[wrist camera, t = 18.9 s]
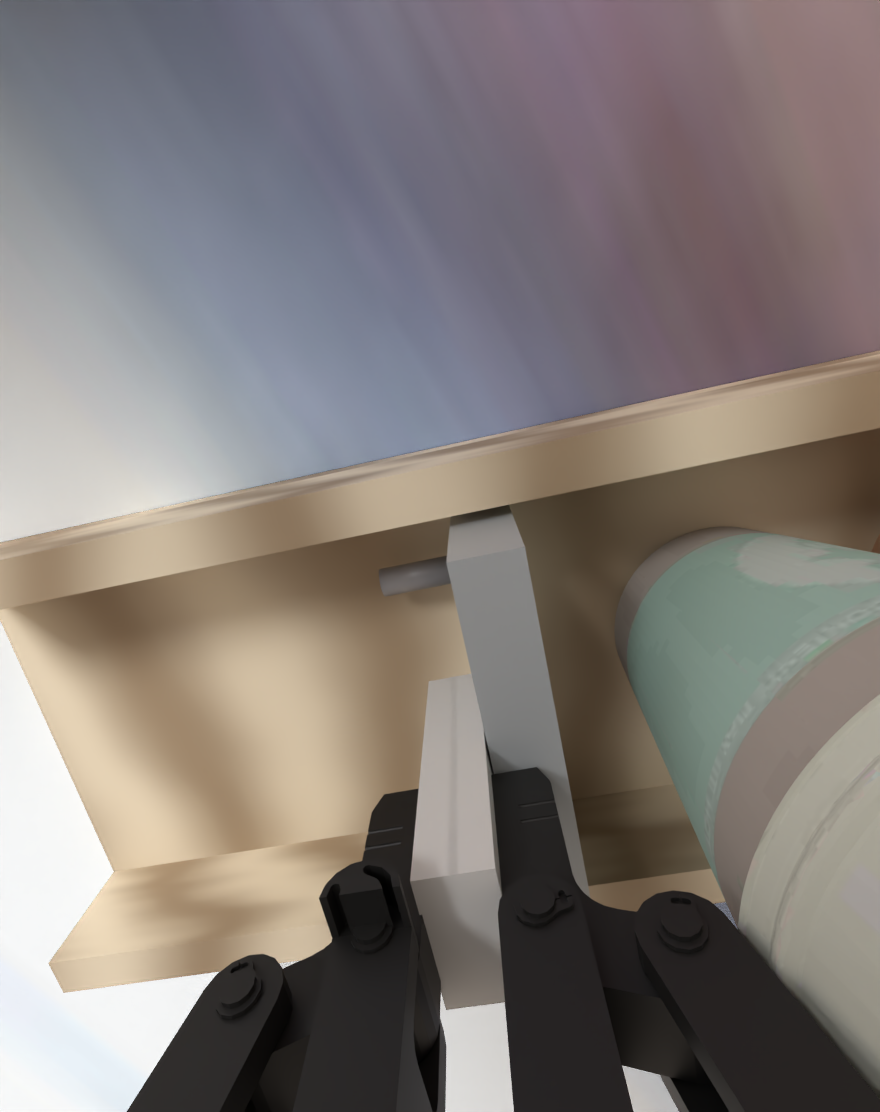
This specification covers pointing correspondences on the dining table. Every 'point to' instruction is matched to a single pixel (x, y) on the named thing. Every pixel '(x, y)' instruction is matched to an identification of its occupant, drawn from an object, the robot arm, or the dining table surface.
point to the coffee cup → (775, 749)
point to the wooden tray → (387, 653)
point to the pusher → (501, 650)
